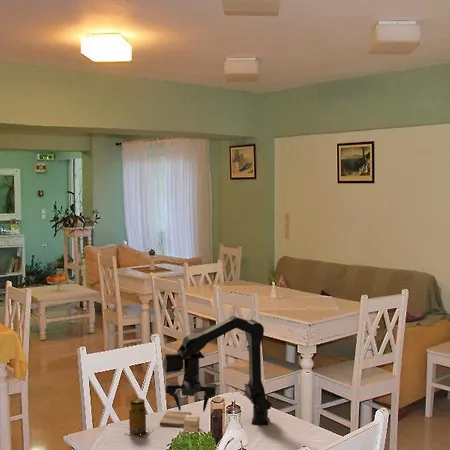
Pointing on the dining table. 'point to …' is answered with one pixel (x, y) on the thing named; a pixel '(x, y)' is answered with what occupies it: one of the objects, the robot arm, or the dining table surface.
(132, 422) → the condiment
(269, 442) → the dining table surface
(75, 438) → the dining table surface
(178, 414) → the serving board
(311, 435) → the dining table surface
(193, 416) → the maple cube
